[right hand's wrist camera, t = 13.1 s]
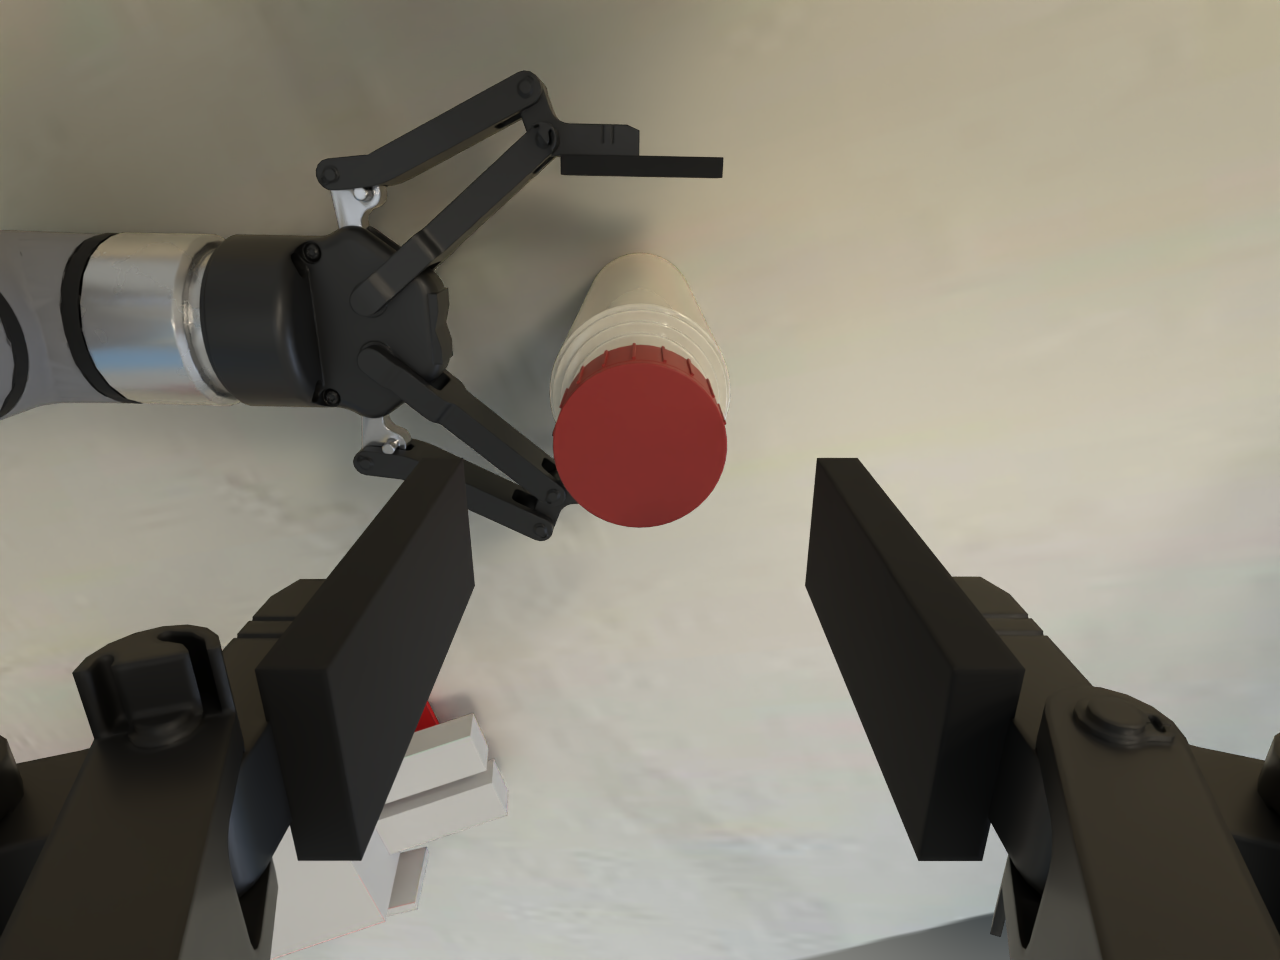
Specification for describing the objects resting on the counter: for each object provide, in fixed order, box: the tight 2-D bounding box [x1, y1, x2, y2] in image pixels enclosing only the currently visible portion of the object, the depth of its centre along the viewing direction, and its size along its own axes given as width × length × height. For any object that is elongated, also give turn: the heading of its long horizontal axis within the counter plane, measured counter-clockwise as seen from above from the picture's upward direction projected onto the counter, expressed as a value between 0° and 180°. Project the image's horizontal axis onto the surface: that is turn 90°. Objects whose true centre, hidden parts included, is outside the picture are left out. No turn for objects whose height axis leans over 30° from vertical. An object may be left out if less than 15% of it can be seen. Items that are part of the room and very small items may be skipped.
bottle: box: [550, 253, 730, 422], centre depth 29 cm, size 6×6×22 cm
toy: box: [270, 701, 508, 960], centre depth 46 cm, size 12×13×30 cm
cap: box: [552, 343, 727, 528], centre depth 19 cm, size 4×4×2 cm
